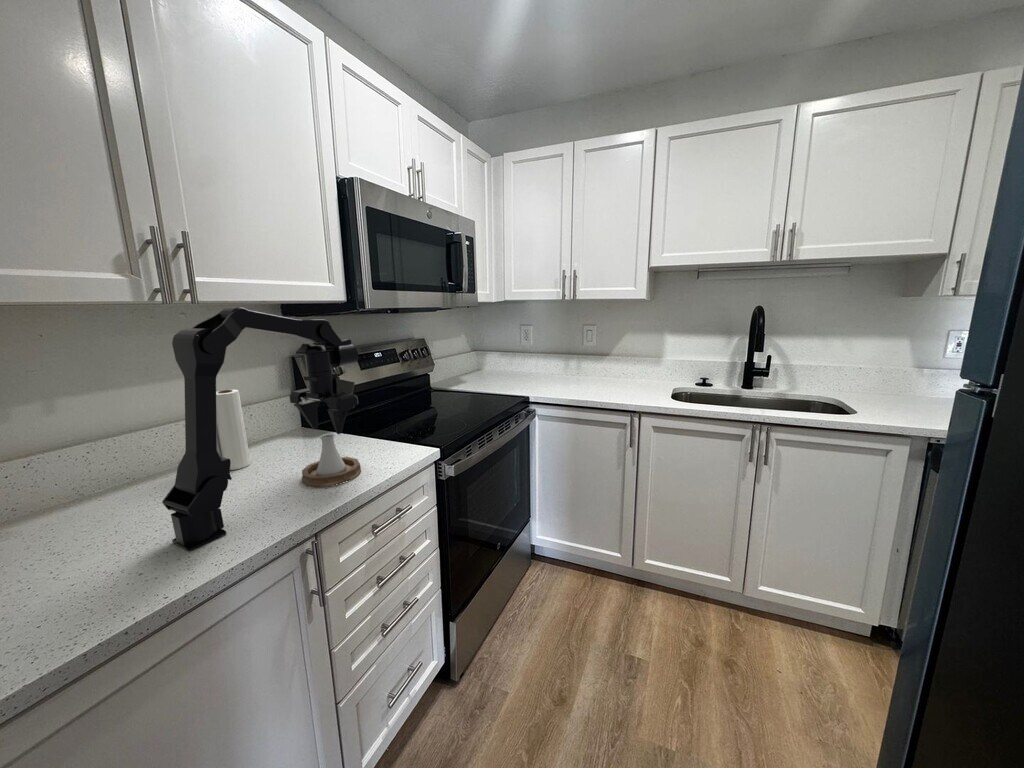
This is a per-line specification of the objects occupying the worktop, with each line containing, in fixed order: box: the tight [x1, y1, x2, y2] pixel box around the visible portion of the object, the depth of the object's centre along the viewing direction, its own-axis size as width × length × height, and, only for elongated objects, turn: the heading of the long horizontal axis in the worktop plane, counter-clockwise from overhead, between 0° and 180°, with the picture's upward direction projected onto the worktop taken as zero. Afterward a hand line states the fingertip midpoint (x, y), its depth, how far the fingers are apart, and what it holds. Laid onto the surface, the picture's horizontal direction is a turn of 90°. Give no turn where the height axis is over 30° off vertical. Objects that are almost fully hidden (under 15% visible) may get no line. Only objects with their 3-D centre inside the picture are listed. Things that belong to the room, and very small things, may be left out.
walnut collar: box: [301, 456, 362, 488], centre depth 105 cm, size 14×14×2 cm
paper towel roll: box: [216, 389, 251, 471], centre depth 110 cm, size 7×6×21 cm
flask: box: [316, 433, 347, 476], centre depth 104 cm, size 7×7×10 cm
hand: (327, 431), depth 103 cm, fingers open, 9 cm apart
